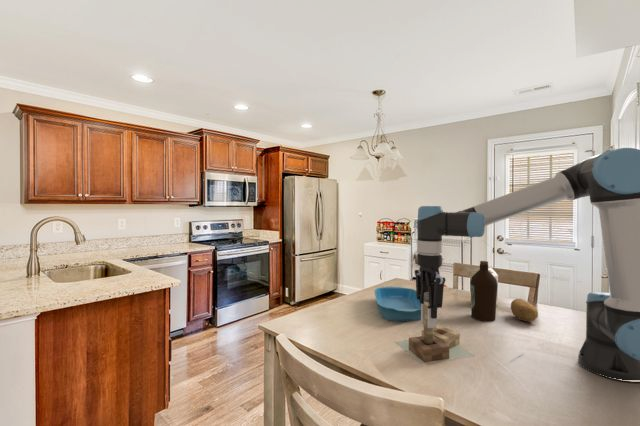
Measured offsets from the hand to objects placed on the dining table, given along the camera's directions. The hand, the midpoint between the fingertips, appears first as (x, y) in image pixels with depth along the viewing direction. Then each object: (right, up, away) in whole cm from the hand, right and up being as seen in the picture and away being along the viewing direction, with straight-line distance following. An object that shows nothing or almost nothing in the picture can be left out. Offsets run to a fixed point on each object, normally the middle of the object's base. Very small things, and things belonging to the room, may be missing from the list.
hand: (428, 325), depth 102 cm
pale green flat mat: (+3, -11, +4) cm, 12 cm away
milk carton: (+48, -9, +55) cm, 74 cm away
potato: (+53, -10, +34) cm, 64 cm away
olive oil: (+37, -10, +36) cm, 53 cm away
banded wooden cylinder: (0, -6, 0) cm, 6 cm away
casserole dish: (+2, -10, +45) cm, 47 cm away
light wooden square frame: (+7, -9, +8) cm, 14 cm away
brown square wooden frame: (0, -10, 0) cm, 10 cm away
